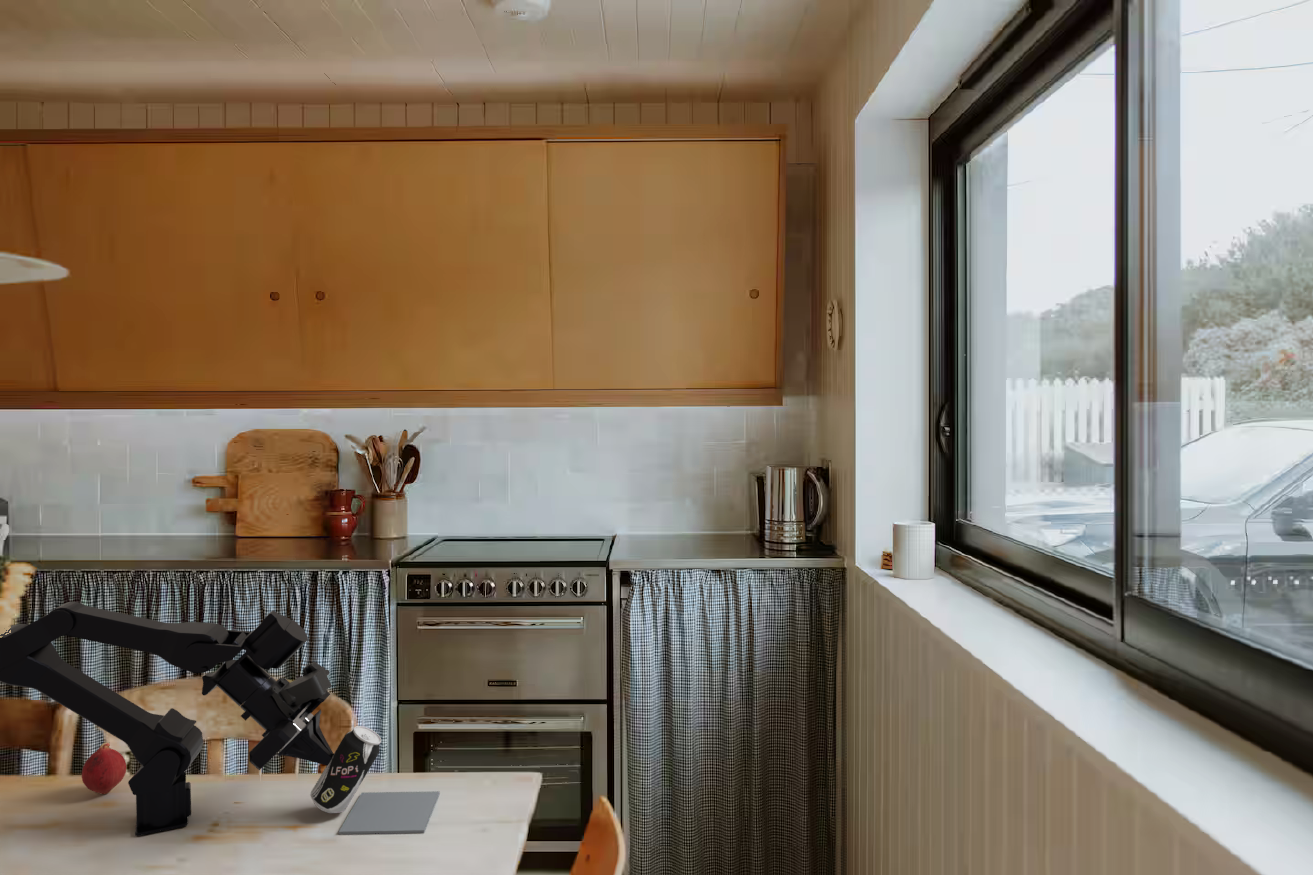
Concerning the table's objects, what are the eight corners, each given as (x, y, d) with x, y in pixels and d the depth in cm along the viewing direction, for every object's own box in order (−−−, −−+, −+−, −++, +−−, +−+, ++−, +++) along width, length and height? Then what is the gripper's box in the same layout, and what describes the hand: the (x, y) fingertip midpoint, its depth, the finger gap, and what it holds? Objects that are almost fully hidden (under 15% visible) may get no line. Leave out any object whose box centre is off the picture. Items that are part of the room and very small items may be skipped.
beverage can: (302, 802, 126) (345, 730, 127) (315, 787, 132) (357, 718, 133) (336, 822, 127) (379, 749, 127) (348, 806, 132) (389, 737, 133)
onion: (105, 804, 131) (103, 752, 131) (72, 800, 132) (71, 749, 132) (135, 787, 137) (134, 737, 136) (104, 783, 138) (103, 734, 138)
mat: (338, 834, 124) (338, 831, 124) (361, 794, 136) (361, 792, 136) (424, 832, 124) (424, 830, 124) (439, 793, 136) (439, 791, 136)
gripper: (270, 673, 118) (354, 751, 120) (315, 634, 137) (387, 702, 138) (212, 731, 118) (297, 808, 120) (265, 684, 137) (337, 751, 138)
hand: (333, 763), depth 129 cm, fingers closed
